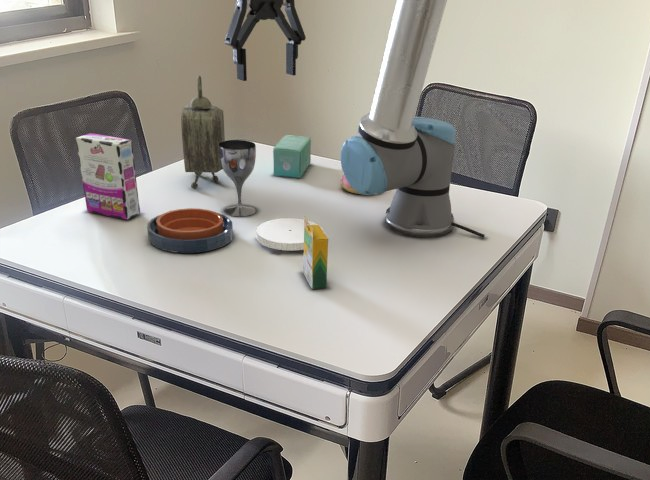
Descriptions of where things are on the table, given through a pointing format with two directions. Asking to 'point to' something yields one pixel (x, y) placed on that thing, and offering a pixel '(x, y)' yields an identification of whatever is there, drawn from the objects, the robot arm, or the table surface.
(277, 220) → the plastic lid
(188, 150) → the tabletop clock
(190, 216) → the small bowl
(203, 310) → the table surface
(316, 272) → the crayon box
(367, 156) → the robot arm
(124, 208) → the candy bar box
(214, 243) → the serving bowl
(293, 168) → the box
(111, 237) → the table surface
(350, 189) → the doughnut
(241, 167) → the wine glass
